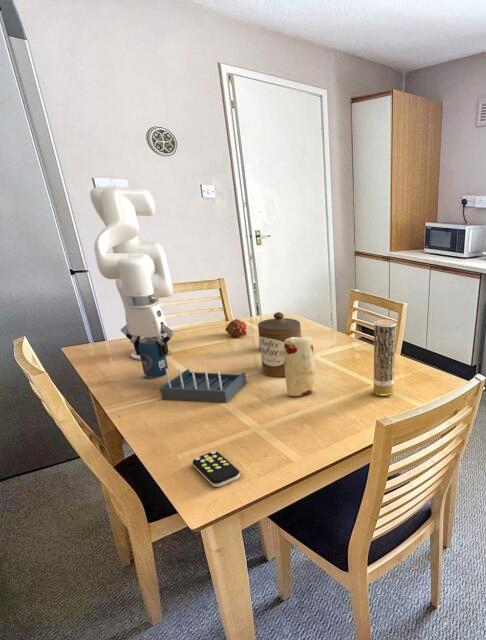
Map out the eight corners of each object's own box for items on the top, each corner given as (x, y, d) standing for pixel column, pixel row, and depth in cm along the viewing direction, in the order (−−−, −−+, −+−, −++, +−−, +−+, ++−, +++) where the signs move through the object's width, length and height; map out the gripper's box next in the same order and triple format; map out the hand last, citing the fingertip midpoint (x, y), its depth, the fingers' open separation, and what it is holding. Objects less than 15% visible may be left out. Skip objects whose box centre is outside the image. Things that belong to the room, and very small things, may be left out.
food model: (290, 401, 131) (285, 341, 123) (283, 393, 136) (278, 335, 128) (319, 394, 136) (316, 337, 128) (311, 387, 141) (308, 331, 133)
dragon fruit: (239, 343, 183) (234, 340, 192) (253, 331, 185) (248, 327, 194) (224, 329, 178) (220, 326, 188) (239, 316, 180) (235, 314, 190)
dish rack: (188, 379, 142) (184, 353, 138) (246, 382, 142) (243, 356, 138) (162, 399, 127) (156, 370, 123) (226, 402, 127) (222, 374, 123)
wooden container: (254, 372, 150) (247, 314, 141) (279, 360, 163) (275, 305, 154) (288, 380, 145) (283, 320, 136) (311, 366, 158) (308, 311, 149)
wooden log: (396, 391, 142) (398, 321, 132) (388, 399, 136) (390, 326, 126) (378, 387, 144) (379, 318, 134) (370, 395, 138) (370, 323, 128)
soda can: (139, 375, 132) (131, 341, 127) (159, 368, 138) (151, 335, 133) (155, 380, 130) (147, 345, 125) (174, 372, 136) (167, 339, 131)
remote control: (215, 490, 90) (214, 482, 89) (191, 465, 97) (190, 458, 96) (242, 477, 94) (241, 470, 93) (217, 455, 101) (216, 448, 101)
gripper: (176, 299, 127) (185, 352, 135) (120, 295, 127) (133, 348, 135) (162, 305, 120) (173, 360, 128) (103, 300, 120) (117, 356, 128)
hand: (152, 354), depth 131 cm, fingers closed on soda can, 7 cm apart
